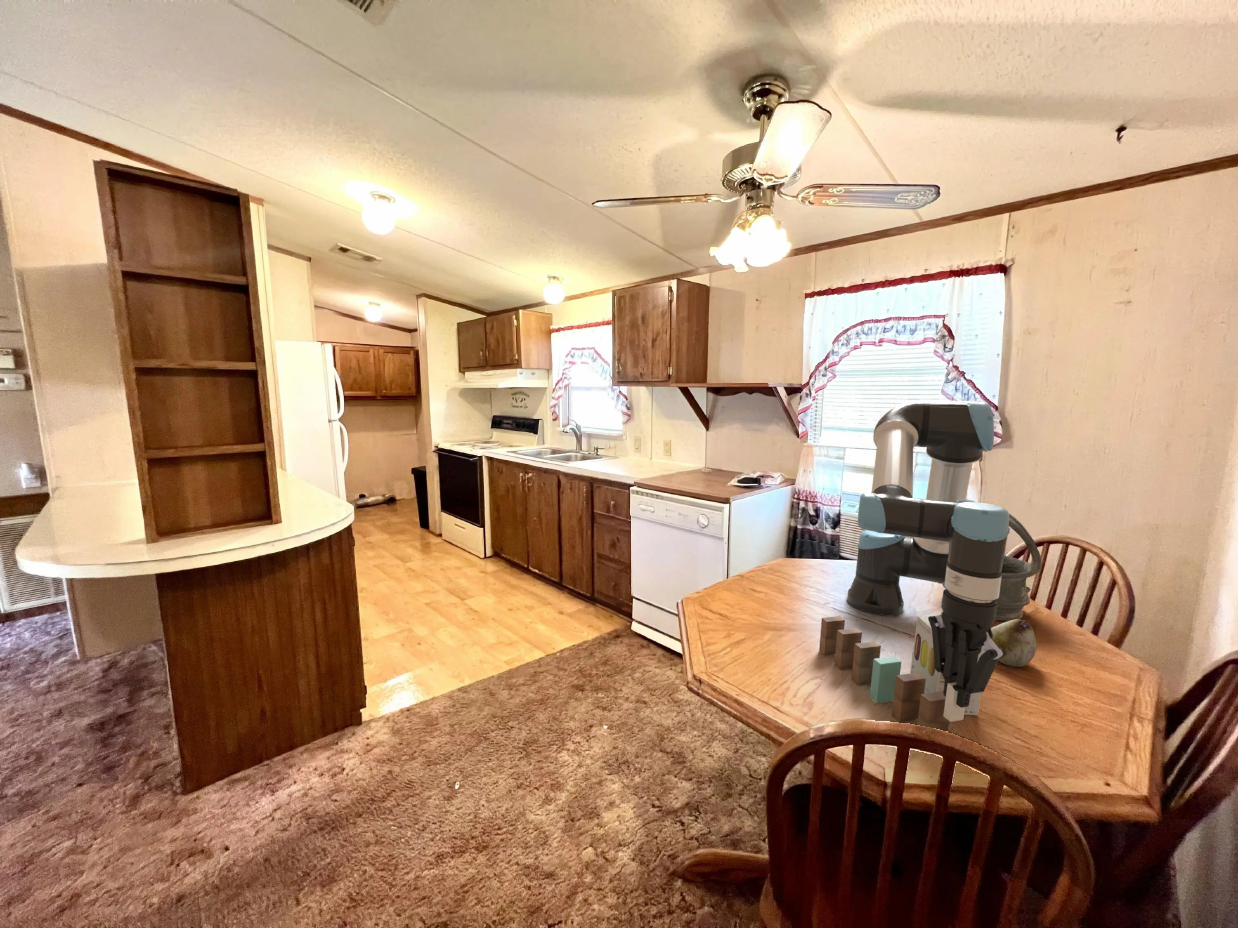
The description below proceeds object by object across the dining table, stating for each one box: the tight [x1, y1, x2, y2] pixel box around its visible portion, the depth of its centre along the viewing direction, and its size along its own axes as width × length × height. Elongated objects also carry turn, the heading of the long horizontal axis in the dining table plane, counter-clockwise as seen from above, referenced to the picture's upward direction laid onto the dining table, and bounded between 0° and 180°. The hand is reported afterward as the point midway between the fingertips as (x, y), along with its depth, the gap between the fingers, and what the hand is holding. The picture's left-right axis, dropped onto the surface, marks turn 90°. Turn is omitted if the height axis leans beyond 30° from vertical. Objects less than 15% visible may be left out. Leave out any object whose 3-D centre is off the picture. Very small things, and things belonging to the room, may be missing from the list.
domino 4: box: [891, 672, 926, 723], centre depth 95 cm, size 5×2×9 cm, turn 102°
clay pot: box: [942, 513, 1043, 622], centre depth 142 cm, size 22×23×30 cm
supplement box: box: [909, 615, 985, 716], centre depth 100 cm, size 10×9×17 cm
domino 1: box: [818, 615, 846, 657], centre depth 118 cm, size 5×2×9 cm, turn 102°
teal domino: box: [869, 655, 902, 704], centre depth 101 cm, size 5×2×9 cm, turn 102°
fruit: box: [991, 618, 1038, 668], centre depth 114 cm, size 10×9×12 cm
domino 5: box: [916, 691, 950, 732], centre depth 89 cm, size 5×2×9 cm, turn 102°
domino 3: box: [851, 640, 882, 687], centre depth 106 cm, size 5×2×9 cm, turn 102°
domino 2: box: [834, 627, 863, 671], centre depth 112 cm, size 5×2×9 cm, turn 102°
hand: (953, 717), depth 85 cm, fingers closed
